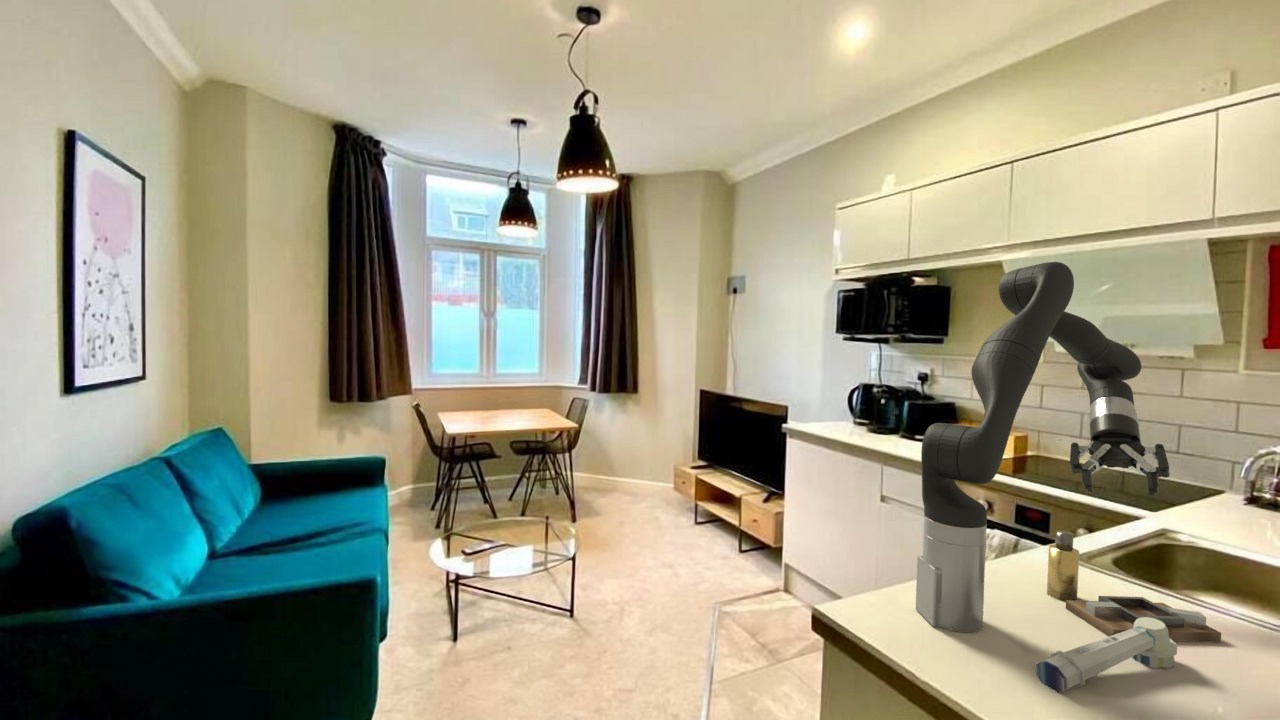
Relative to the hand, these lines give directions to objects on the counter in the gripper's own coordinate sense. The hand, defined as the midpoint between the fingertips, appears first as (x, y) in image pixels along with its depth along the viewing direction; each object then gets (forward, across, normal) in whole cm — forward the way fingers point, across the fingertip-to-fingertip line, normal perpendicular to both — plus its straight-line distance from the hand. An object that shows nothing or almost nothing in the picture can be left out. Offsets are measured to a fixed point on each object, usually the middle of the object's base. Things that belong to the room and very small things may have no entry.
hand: (1119, 491), depth 101 cm
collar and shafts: (+20, +1, +7) cm, 21 cm away
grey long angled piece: (+37, -3, -7) cm, 38 cm away
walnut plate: (+21, +1, +8) cm, 23 cm away
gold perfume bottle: (+17, -10, +10) cm, 22 cm away
